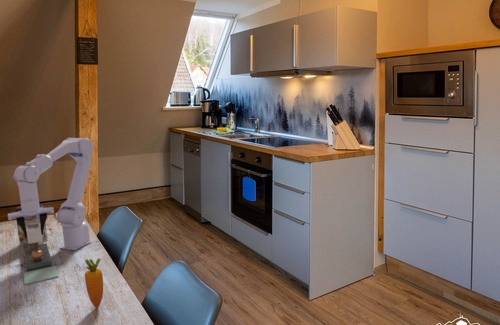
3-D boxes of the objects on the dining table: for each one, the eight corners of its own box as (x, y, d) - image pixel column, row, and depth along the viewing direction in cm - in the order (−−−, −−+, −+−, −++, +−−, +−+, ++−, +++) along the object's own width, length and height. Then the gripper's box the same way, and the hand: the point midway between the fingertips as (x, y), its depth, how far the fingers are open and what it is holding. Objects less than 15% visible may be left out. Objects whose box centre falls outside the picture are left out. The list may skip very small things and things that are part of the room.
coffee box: (18, 245, 170) (13, 208, 167) (28, 240, 176) (23, 203, 173) (39, 245, 169) (34, 208, 166) (48, 240, 175) (44, 203, 172)
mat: (23, 273, 142) (23, 272, 142) (55, 266, 147) (55, 265, 147) (24, 285, 134) (24, 283, 134) (58, 277, 139) (58, 276, 139)
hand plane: (24, 253, 161) (22, 237, 160) (47, 249, 165) (45, 233, 164) (26, 272, 144) (24, 254, 143) (52, 266, 148) (49, 249, 146)
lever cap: (27, 238, 152) (25, 223, 151) (41, 236, 154) (39, 221, 153) (28, 243, 147) (26, 228, 146) (42, 241, 149) (40, 225, 148)
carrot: (108, 302, 120) (103, 254, 117) (103, 311, 115) (97, 261, 113) (91, 303, 120) (85, 255, 117) (85, 312, 115) (79, 262, 112)
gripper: (5, 204, 141) (11, 242, 143) (52, 198, 148) (57, 234, 150) (6, 200, 147) (11, 236, 149) (51, 194, 154) (55, 229, 156)
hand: (34, 235), depth 150 cm, fingers closed on lever cap, 4 cm apart
